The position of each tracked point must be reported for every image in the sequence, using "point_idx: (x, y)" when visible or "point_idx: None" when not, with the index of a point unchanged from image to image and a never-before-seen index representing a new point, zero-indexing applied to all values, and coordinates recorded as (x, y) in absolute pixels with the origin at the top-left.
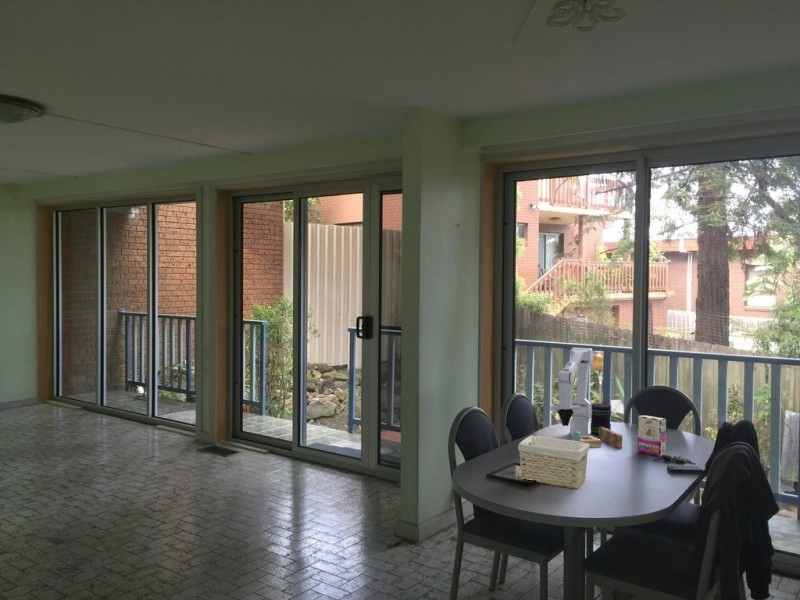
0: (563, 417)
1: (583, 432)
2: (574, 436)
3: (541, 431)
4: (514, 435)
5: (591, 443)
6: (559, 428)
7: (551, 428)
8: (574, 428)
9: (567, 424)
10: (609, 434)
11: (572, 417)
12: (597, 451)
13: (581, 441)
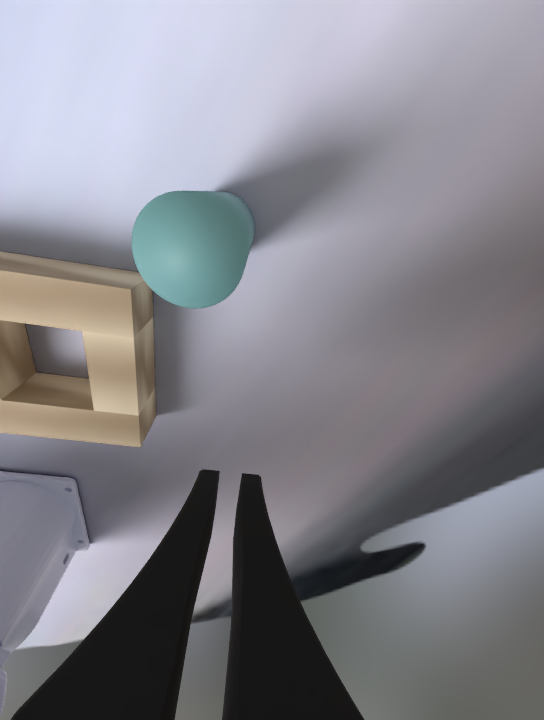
0: (292, 601)
1: (1, 505)
2: (247, 237)
3: (202, 594)
4: (369, 575)
5: (33, 266)
6: (91, 609)
7: None
8: (45, 554)
9: (212, 483)
10: None
11: (2, 657)
12: (49, 83)
13: (130, 288)
